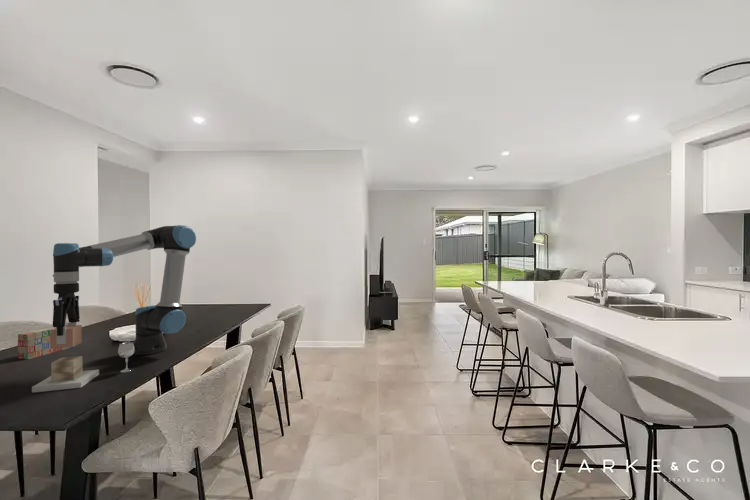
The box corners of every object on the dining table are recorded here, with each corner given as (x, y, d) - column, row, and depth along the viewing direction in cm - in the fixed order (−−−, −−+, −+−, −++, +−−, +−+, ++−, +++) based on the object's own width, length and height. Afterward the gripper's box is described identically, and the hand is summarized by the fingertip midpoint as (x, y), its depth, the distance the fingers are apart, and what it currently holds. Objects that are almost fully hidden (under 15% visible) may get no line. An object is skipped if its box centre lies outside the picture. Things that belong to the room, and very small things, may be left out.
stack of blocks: (64, 346, 192) (64, 324, 192) (74, 347, 191) (73, 324, 191) (17, 359, 171) (17, 333, 171) (27, 359, 170) (27, 333, 170)
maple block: (82, 373, 144) (82, 355, 144) (73, 379, 137) (73, 361, 137) (61, 375, 142) (61, 357, 142) (51, 381, 135) (51, 363, 135)
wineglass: (138, 369, 155) (137, 341, 155) (124, 373, 149) (124, 345, 149) (128, 367, 156) (128, 340, 156) (115, 372, 151) (114, 343, 151)
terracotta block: (81, 342, 143) (81, 325, 143) (72, 346, 137) (72, 328, 137) (60, 343, 141) (60, 326, 141) (50, 348, 135) (50, 330, 135)
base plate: (99, 374, 149) (98, 369, 149) (81, 387, 134) (81, 381, 134) (55, 378, 144) (55, 372, 144) (31, 392, 130) (31, 386, 130)
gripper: (68, 280, 148) (68, 336, 148) (39, 285, 128) (39, 348, 128) (90, 280, 150) (90, 334, 150) (64, 284, 131) (64, 347, 131)
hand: (66, 341), depth 139 cm, fingers closed on terracotta block, 7 cm apart
